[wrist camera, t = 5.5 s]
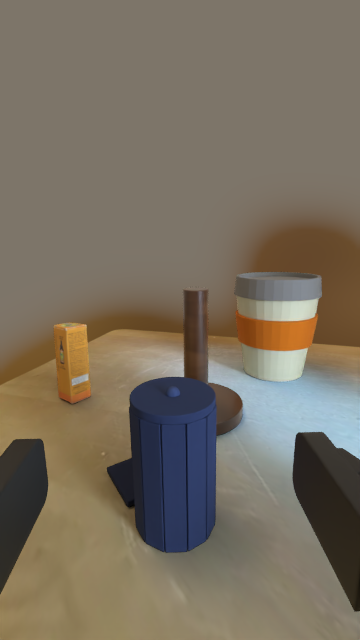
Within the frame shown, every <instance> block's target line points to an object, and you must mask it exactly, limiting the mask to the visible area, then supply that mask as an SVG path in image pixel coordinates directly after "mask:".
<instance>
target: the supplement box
mask: <svg viewBox="0 0 360 640" xmlns="http://www.w3.org/2000/svg"><path fill="white" fill-rule="evenodd" d="M54 338H55V352H56V366H57V379H58V392H59V397H60V398H62V399H64V400H66V401H68V402H70V403H72V404H73V403H76V402H78V401H81V400H83V399H85V398H88V397H90V396H91V388H90V373H89V359H88V345H87V330H86V325H83V324H78V323H73V322H72V323H63V324H58V325H54Z"/></svg>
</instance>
